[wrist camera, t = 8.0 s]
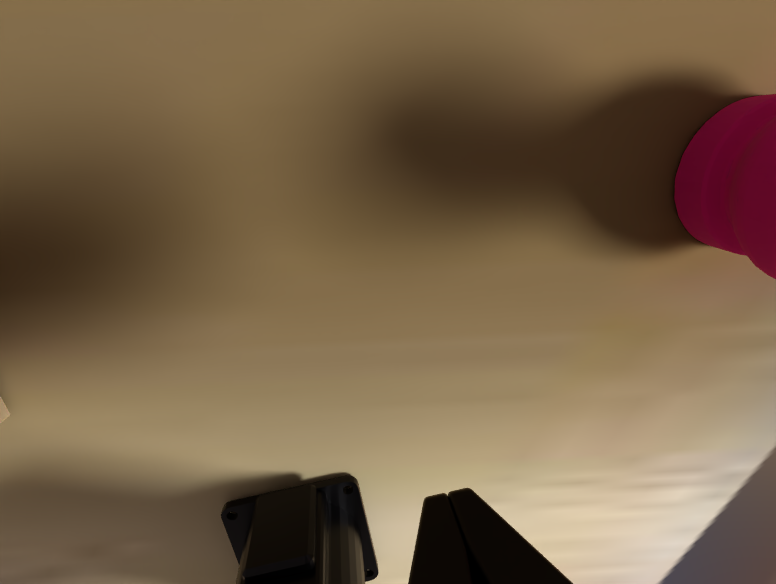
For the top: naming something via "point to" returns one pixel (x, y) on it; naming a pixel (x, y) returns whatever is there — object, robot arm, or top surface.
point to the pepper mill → (733, 181)
